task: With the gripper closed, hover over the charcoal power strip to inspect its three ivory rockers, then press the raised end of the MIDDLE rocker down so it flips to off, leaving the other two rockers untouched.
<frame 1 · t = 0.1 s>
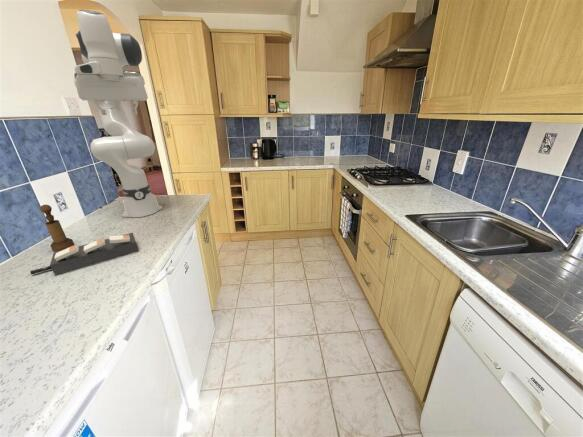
hand: (120, 114, 88), 48 cm above the countertop, fingers open, 8 cm apart
rocker middle: (94, 245, 86), point 6 cm above the countertop, hinge at 13.0°
power strip: (99, 256, 89), on the countertop
rocker b: (119, 238, 90), point 6 cm above the countertop, hinge at -13.0°
rocker a: (66, 252, 81), point 6 cm above the countertop, hinge at 13.0°
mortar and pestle: (63, 247, 96), on the countertop
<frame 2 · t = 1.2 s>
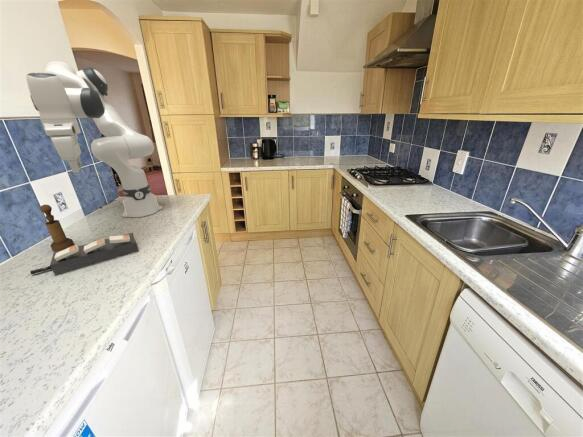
hand: (78, 170, 86), 30 cm above the countertop, fingers open, 8 cm apart
nothing on the countertop moved.
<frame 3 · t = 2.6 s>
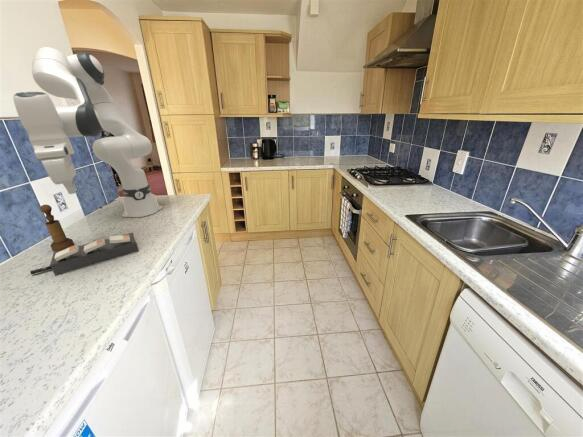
hand: (72, 193, 80), 24 cm above the countertop, fingers closed
nothing on the countertop moved.
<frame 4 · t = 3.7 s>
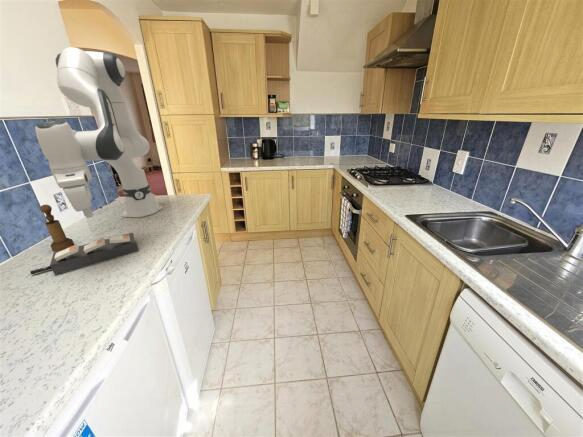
hand: (90, 216, 82), 16 cm above the countertop, fingers closed
nothing on the countertop moved.
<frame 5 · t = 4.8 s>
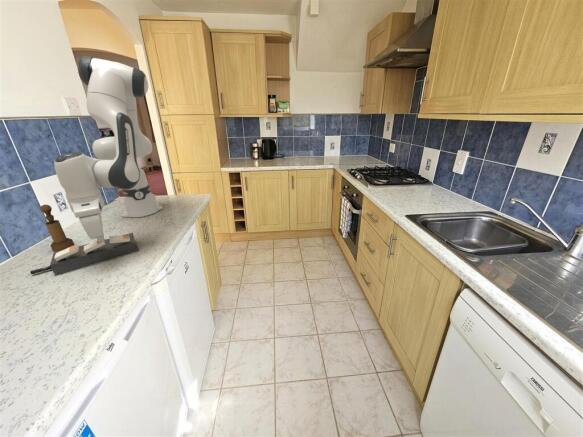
hand: (101, 240, 86), 7 cm above the countertop, fingers closed, pressing on rocker middle
rocker middle: (94, 245, 86), point 6 cm above the countertop, hinge at 13.0°, touching gripper
everything else where it was.
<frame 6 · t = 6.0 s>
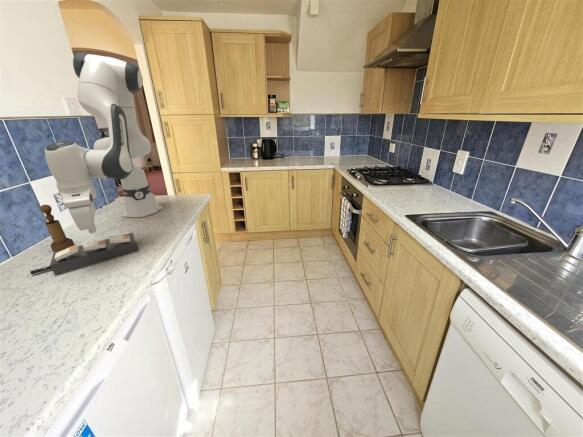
hand: (93, 231, 85), 10 cm above the countertop, fingers closed
rocker middle: (94, 245, 86), point 6 cm above the countertop, hinge at -7.7°
rocker b: (119, 238, 90), point 6 cm above the countertop, hinge at -13.7°
everything else where it was.
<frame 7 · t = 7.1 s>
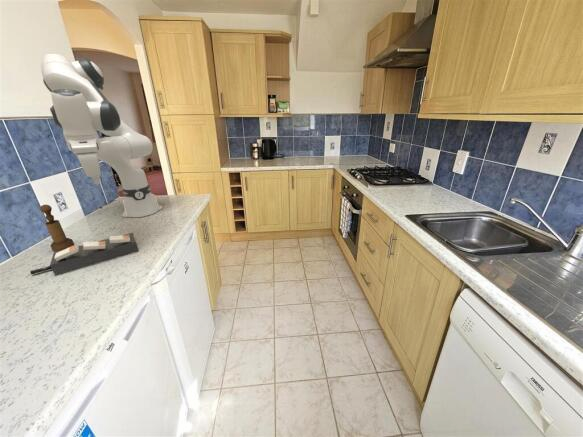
hand: (97, 183, 87), 25 cm above the countertop, fingers closed
rocker middle: (94, 245, 86), point 6 cm above the countertop, hinge at -16.8°, touching power strip
rocker b: (119, 238, 90), point 6 cm above the countertop, hinge at -15.2°
everything else where it was.
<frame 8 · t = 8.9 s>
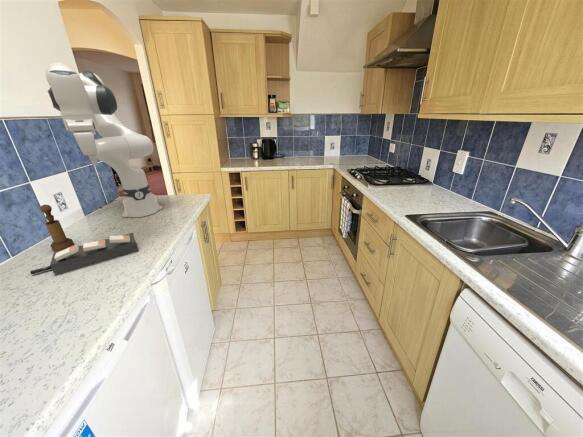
hand: (95, 165, 88), 31 cm above the countertop, fingers closed
rocker middle: (94, 245, 86), point 6 cm above the countertop, hinge at -6.1°
rocker b: (119, 238, 90), point 6 cm above the countertop, hinge at -16.9°, touching power strip
everything else where it was.
at the end: rocker middle at -6° (first picture: +13°); rocker b at -17° (first picture: -13°); rocker a at +13° (first picture: +13°) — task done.
